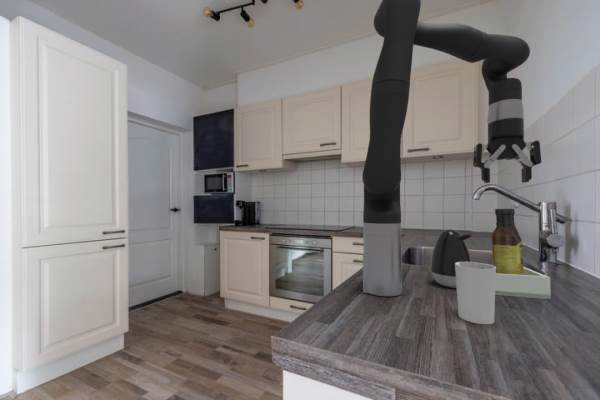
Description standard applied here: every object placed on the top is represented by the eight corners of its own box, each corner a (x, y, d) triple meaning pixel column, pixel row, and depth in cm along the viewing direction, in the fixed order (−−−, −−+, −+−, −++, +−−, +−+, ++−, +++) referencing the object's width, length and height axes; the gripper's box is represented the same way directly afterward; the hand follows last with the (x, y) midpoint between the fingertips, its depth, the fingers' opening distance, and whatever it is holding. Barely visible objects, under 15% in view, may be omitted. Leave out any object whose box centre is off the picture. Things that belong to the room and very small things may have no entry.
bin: (490, 294, 65) (489, 273, 65) (473, 281, 77) (473, 263, 77) (550, 299, 62) (550, 277, 62) (524, 285, 73) (523, 266, 73)
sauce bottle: (529, 290, 65) (527, 208, 66) (500, 288, 67) (499, 208, 67) (514, 282, 72) (512, 208, 72) (487, 281, 73) (486, 208, 74)
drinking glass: (471, 309, 56) (470, 260, 56) (506, 322, 49) (505, 267, 50) (447, 313, 53) (447, 263, 54) (480, 327, 47) (479, 270, 47)
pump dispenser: (460, 293, 66) (458, 231, 67) (422, 283, 75) (421, 228, 76) (482, 287, 71) (481, 229, 72) (444, 278, 80) (443, 227, 81)
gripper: (478, 118, 69) (479, 181, 69) (546, 113, 65) (547, 180, 65) (469, 127, 76) (470, 184, 76) (530, 123, 72) (531, 183, 72)
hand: (505, 182), depth 70 cm, fingers open, 8 cm apart
